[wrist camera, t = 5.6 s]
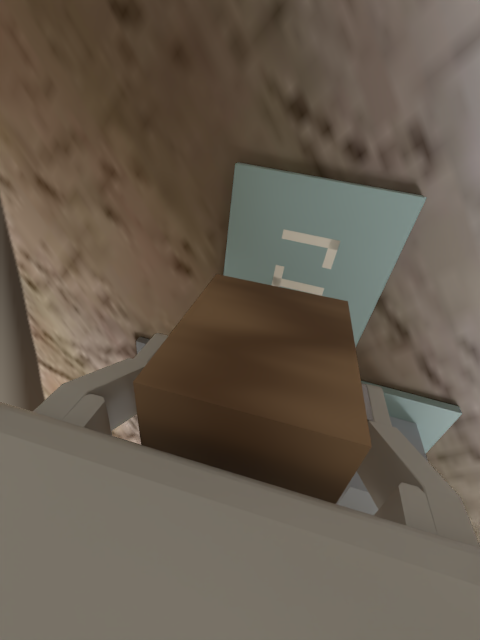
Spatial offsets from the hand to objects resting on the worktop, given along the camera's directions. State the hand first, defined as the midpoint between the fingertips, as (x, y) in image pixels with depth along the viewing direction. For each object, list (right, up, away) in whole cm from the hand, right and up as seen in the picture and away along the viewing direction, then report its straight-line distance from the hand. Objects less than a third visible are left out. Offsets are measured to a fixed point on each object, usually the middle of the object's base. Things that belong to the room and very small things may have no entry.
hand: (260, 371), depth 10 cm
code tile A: (+3, +5, +6) cm, 9 cm away
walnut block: (0, +1, +2) cm, 2 cm away
